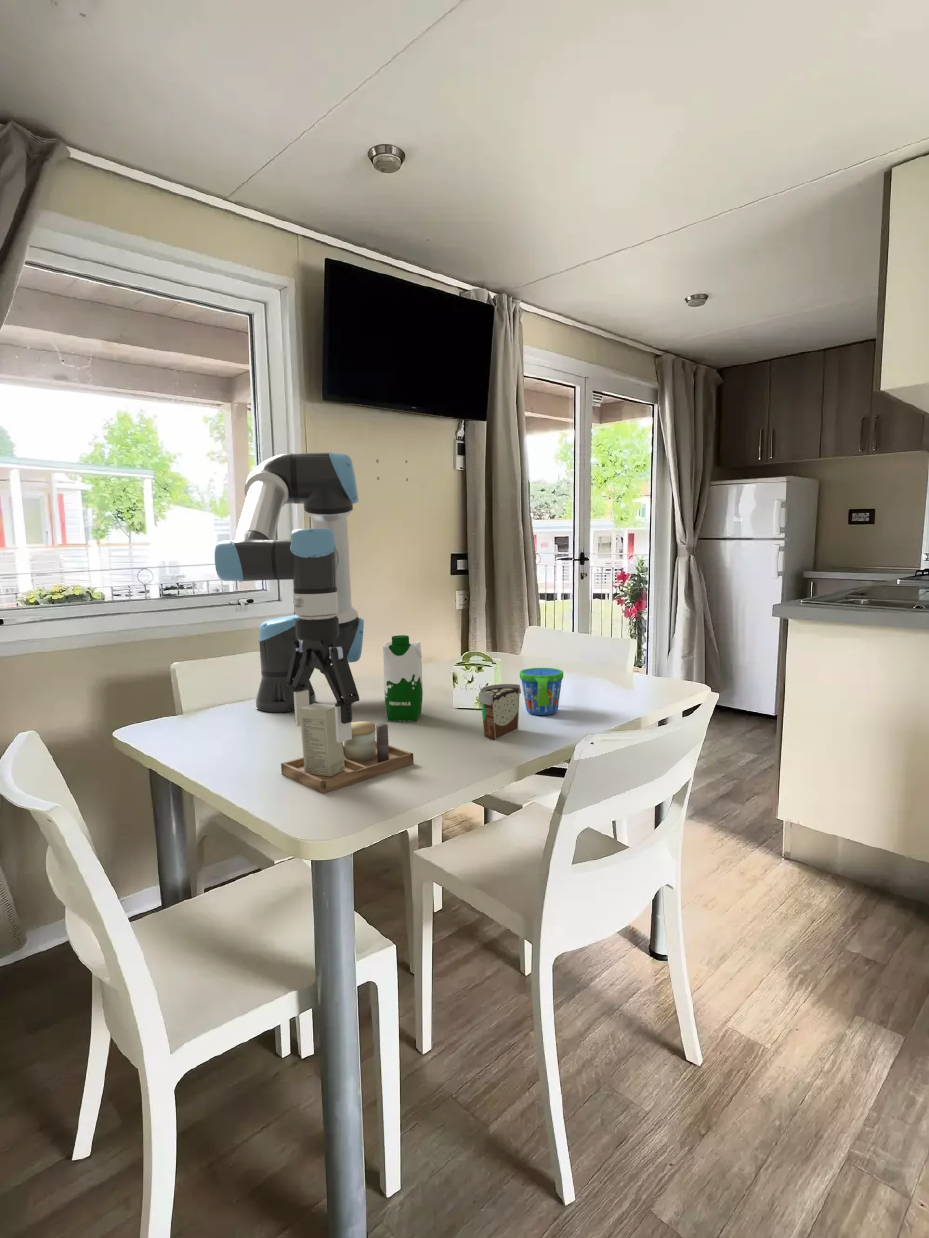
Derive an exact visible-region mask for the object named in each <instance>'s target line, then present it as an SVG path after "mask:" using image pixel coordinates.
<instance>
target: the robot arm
mask: <svg viewBox="0 0 929 1238" xmlns="http://www.w3.org/2000/svg"><path fill="white" fill-rule="evenodd" d="M356 480H357V479H356V476H355V469H354V464H353V461H352V458H351V457H350V456H349V455H348V454H346V453H335V452H309V453H307V452H306V453H304V452H303V453H293V452H291V453H282V454H277V455H275V456H272V457H270V458H268V459H265V460H264V461H263V462H261V463H260V464H258V465H257V466H256V467H255V468H254V469H253V470H252V471H251V472H250V473H249V475H248V476H247V479H246V482H245V484H244V496H245V500H244V501H245V502H244V504H243V507H242V511H241V513H240V517H239V520H238V524H237V527H236V530H235V533H234V537H233V538H232V539H228V540H222V541H220V542H217V544H216V545H215V548H214V565H215V571H216V575H217V576H218V578H219V579H220V580H222V581H224V582H239V583H242V582H252V581H253V582H254V581H256V582H257V581H281V580H282V581H283V580H286V581H287V580H289V581H290V580H292V581H293V597H294V598H293V599H294V600H293V605H294V613H295V614H292V615H287V616H280V617H276V618H271V619H268V620H265V621H263V622H262V623H261V624H260V625H259V627H258V634H259V635H258V643H259V653H260V654H259V655H260V656H259V657H260V673H261V675H260V676H261V680H260V683H259V687H258V691H257V693H256V699H255V708H256V707H257V708H258V709H259V710H258V709H257V708H256V709H257V710H258V711H261V710H263V711H262V712H266V711H267V713H285V712H294V718H295V719H294V723H295V727H298V728H300V727H301V718H300V708H302V707H305V706H308V705H311V704H314V703H317V697H316V693H315V691H314V687H313V685H312V682H311V680H310V679H311V677H312V675H313V673H314V671H315V669H316V670H318V671H319V672H320V673H321V674H323V676H324V677H325V679H326V681H327V683H328V687H329V688H330V690H331V691H332V694H333V697H334V698H335V701H336V702H335V704H334V705H335V721H336V742H343V743H344V741H346V740H350V739H352V728H351V723H352V720H353V716H352V715H353V714H352V704H354V703H357V702H359V701H360V695H359V692H358V689H357V686H356V683H355V682H356V681H355V679H354V676H353V673H352V670H351V667H350V664H349V663H356V662H358V661H359V660H360V659H361V657H362V650H363V639H364V630H365V629H364V628H365V627H364V626H365V620H364V618H363V617H359V612H358V610H356V609H355V608H354V607H353V605H352V587H351V586H352V585H351V569H350V568H351V567H350V552H349V551H350V549H349V532H348V531H349V530H348V529H349V528H348V517H349V515H350V514H352V512H353V511H354V507H353V506H354V505H353V504H357V503H358V502H359V495H358V487H357V486H358V485H357V481H356ZM288 504H295V505H296V504H302V505H303V509H304V510H303V511H304V513H305V514H307V516H309V517H310V520H311V528H296V529H293V530H292V531H291V534H290V539H276V534H277V531H278V530H277V529H278V524H279V521H280V514H281V511H282V509H283V507H284V506H285V505H288Z"/></svg>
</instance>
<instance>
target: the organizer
mask: <svg viewBox="0 0 929 1238" xmlns="http://www.w3.org/2000/svg"><path fill="white" fill-rule="evenodd" d="M351 728H352V739H350V740H346V741H343V750H344V764H345V770H343V771H341V772H339V773H337V774H335V775H333V776H331V777H329V776H322V775H315V774H308V773H306V772H305V770H304V757H299V758H296V759H292V760H288V761H286V762H281V763H280V765H281V766H280V767H281V768H280V769H281V775H283V776H285V777H287V778H289V779H292V780H294V781H296V782H297V783H300V784H302V785H305V786H306V787H309V788H310V789H313V790H315V791H317V792H319V793H321V794H326V793H329V792H332V791H334V790H338V789H341V788H344V787H347V786H350V785H353V784H356V783H359V782H362V781H364V780H369V779H371V778H374V777H377V776H380V775H384V774H386V773H389V772H392V771H395V770H399V769H402V768H405V767H407V766H410V765H414V753H413V752H410V751H407V750H404V749H400V748H399V747H395V746H392V745H390V744H389V724H386V723H378V724H376V723H374V722H372V721H354V722H352V721H351Z"/></svg>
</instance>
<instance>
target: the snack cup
mask: <svg viewBox="0 0 929 1238" xmlns="http://www.w3.org/2000/svg"><path fill="white" fill-rule="evenodd" d="M519 678H520V681H521V685H522V693H523V697H524V704H525V709H526V711H527V712H528V714H531V715H535V716H550V715H553V714H556V713H557V712H558V710H559V703H560V698H561V689H562V682H563V679H564V671H563V670H561V669H560V668H559V669H558V668H554V667H553V668H551V667H533V668H532V667H531V668H525V669H522V670H520V671H519Z"/></svg>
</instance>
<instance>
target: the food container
mask: <svg viewBox="0 0 929 1238" xmlns="http://www.w3.org/2000/svg"><path fill="white" fill-rule="evenodd" d="M520 694H522V691H521V684H516V683H515V684H514V683H500V684H491V685H487V686H483V687H481V689H480V691H479V692H478V698H477V701H478V702H479V703H480V705H481V715H482V723H483V732H484V733H483V734H484V737H485V738H486V737H487V739H488V738H489V739H488V740H491V741H495V740H496V741H498V740H500V739H502V738H503V736H504V737H506V736H508V735H510V734H512V733H514V732H516V731H518V730H519V718H520V717H519V715H520V714H519V713H520V711H519V710H520ZM515 730H516V731H515ZM513 731H514V732H513ZM511 732H512V733H511ZM509 733H510V734H509ZM507 734H508V735H507ZM505 735H506V736H505ZM501 737H502V738H501ZM499 738H500V739H499ZM497 739H498V740H497Z"/></svg>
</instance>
